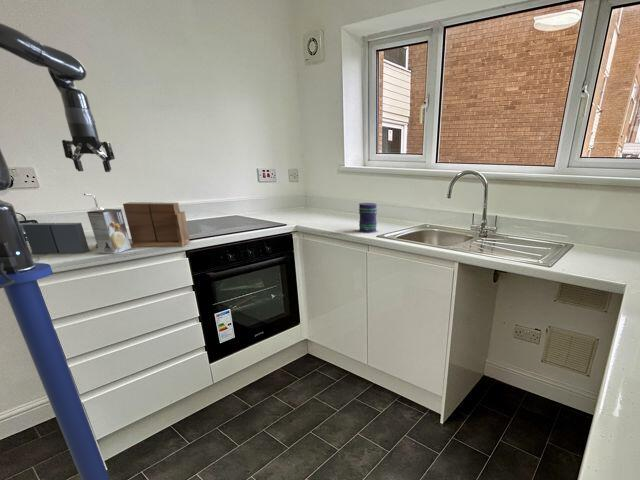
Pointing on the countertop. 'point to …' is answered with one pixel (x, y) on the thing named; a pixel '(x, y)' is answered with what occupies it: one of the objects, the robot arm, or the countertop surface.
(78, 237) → the grey book
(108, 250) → the coffee box
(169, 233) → the box
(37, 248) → the grey book
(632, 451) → the countertop surface
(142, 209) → the box
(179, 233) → the wooden rack
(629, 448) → the countertop surface
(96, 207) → the cup with straw
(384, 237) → the countertop surface
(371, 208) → the storage jar
